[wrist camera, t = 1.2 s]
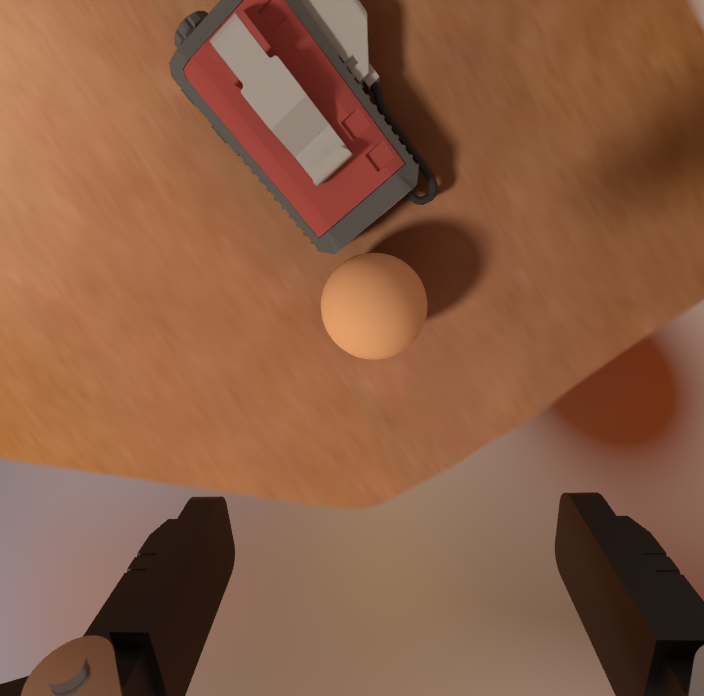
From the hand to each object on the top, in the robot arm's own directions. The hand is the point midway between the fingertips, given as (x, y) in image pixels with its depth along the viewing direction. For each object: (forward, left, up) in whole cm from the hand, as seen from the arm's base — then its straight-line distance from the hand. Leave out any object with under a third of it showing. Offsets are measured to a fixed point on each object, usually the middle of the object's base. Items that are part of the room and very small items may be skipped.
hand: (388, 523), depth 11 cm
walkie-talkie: (-5, +14, -17) cm, 22 cm away
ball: (0, +2, -14) cm, 14 cm away
